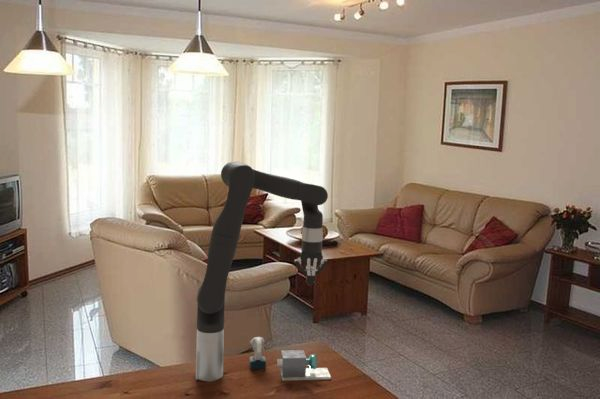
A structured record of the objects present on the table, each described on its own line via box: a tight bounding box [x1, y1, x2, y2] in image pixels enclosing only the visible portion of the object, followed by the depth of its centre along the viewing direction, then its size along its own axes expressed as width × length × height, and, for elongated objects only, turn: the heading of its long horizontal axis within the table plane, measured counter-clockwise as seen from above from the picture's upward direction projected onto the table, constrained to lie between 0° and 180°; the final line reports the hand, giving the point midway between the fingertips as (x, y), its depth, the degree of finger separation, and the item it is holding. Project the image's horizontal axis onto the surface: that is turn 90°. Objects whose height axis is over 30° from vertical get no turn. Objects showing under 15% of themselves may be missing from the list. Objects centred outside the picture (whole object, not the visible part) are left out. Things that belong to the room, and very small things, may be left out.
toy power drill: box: [249, 336, 267, 371], centre depth 199 cm, size 6×8×11 cm
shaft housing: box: [280, 349, 332, 382], centre depth 194 cm, size 17×7×8 cm, turn 98°
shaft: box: [276, 353, 318, 369], centre depth 194 cm, size 14×5×5 cm, turn 98°
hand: (310, 284), depth 204 cm, fingers closed
